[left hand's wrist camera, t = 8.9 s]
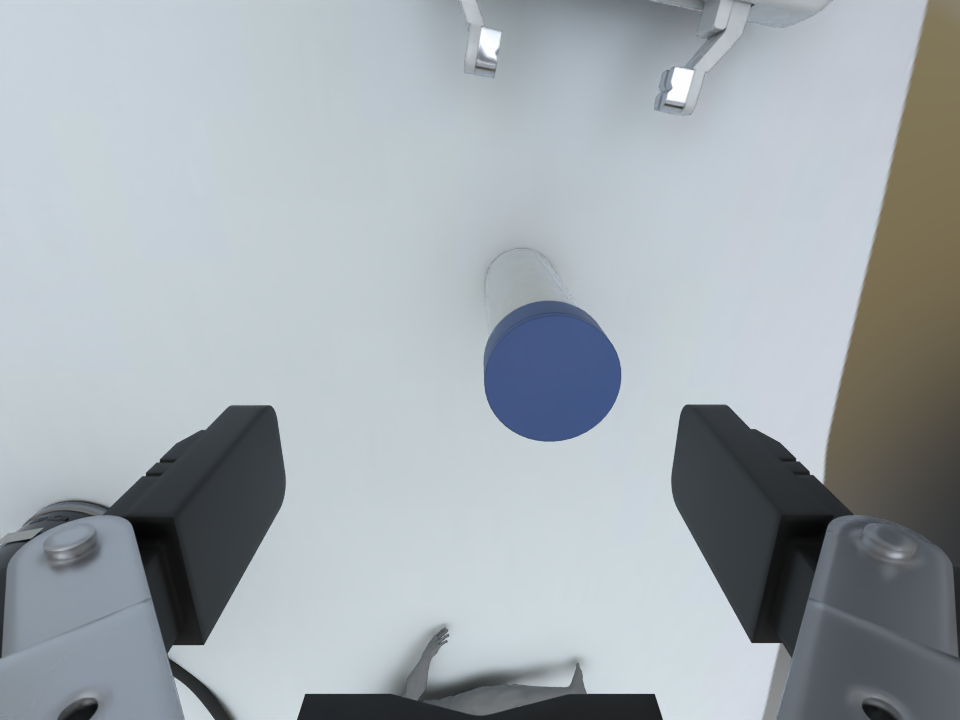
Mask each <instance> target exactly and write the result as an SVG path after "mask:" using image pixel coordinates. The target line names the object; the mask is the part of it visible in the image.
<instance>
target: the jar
mask: <svg viewBox="0 0 960 720" xmlns="http://www.w3.org/2000/svg"><path fill="white" fill-rule="evenodd" d="M485 292H486V308H487V324H488V339H489V337H490V335H491V333H492V331H493V330H494V328H495V327H496V326H497V324H498V323H499V322H500V321H501V320H502V319H503V318H504V317H505V316H506V315H508V314H509V313H511V312H512V311H513V310H515V309H517V308H519V307H521V306H524V305H526V304H529V303H533V302H537V301H560V302H565V303H568V304H571V305H574V306H576V307H578V305H577V304H576V302H575V301H574V299H573V297H572V296H571V294H570V293H569V291H568V290H567V288H566V287H565V285H564V284H563V282H562V281H561V279H560V278H559V276H558V275H557V273H556V272H555V270H554V269H553V267H552V266H551V264H550V263H549V262H548V260H547V259H546V258H545V257H544V256H542V255H541V254H539V253H538V252H535V251H533V250H530V249H513V250H509V251H507V252H505V253H503V254H501V255H500V256H499V257H497V258H496V259H495V260H494V261H493V263H492V264H491V266H490V267H489V269H488V272H487V275H486V279H485ZM578 308H579V307H578Z"/></svg>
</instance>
